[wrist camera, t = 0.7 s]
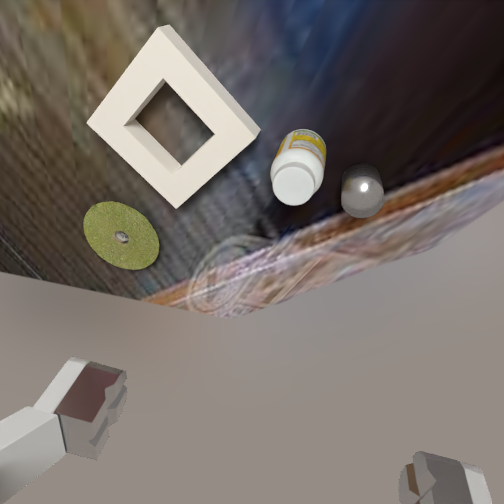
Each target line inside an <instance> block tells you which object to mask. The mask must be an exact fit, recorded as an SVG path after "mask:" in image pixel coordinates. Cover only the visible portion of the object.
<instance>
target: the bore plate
mask: <svg viewBox="0 0 504 504" xmlns="http://www.w3.org/2000/svg"><path fill="white" fill-rule="evenodd" d="M165 82H167V83H168V84H169V85H170V86H171V87H172V88H173V89H174V90H175V91H176V93H177V94H178V95H179V96H180V97H181V98H182V99H183V100H184V101H185V102H186V103H187V104H188V106H189V107H190V108H191V109H192V110H193V111H194V112H195V113H196V114H197V115H198V116H199V117H200V119H201V120H202V121H203V122H204V123H205V124H206V125H207V126H208V127H209V128H210V129H211V130H212V132H213V133H214V135H213V136H212V137H211V138H210V139H209V140H208V141H207V142H205V143H204V144H203V145H202V146H201V147H200V148H199V149H198V150H197V151H196V152H195V153H194V154H193V155H192V156H191V157H190V158H189V159H188V160H187V161H186V162H185V163H184V164H183V165H182V166H181V165H180V164H179V163H178V162H177V161H176V160H175V159H174V158H173V157H172V156H171V155H170V154H169V153H168V152H167V151H166V150H165V149H164V148H163V147H162V146H161V145H160V144H159V143H158V142H157V141H156V140H155V139H154V138H153V137H152V136H151V135H150V134H149V133H148V132H147V131H146V130H145V129H144V128H143V127H142V125H141V124H140V123H139V122H138V121H137V120H136V119H135V118H136V117H137V116H138V114H139V113H140V112H141V111H142V110H143V108H144V107H145V106H146V105H147V104H148V103H149V101H150V100H151V99H152V98H153V97H154V95H155V94H156V93H157V92H158V91H159V89H160V88H161V87H162V86H163V85H164V83H165ZM87 124H88V125H89V126H90V127H91V128H92V129H93V130H94V131H95V132H96V133H97V134H99V135H100V136H101V137H102V138H103V139H104V140H105V141H106V142H107V143H108V144H109V145H110V146H111V147H112V148H113V149H114V150H115V151H116V152H117V153H118V154H119V155H120V156H121V157H122V158H124V159H125V160H126V161H127V162H128V163H129V164H130V165H131V166H132V167H133V168H134V169H135V170H136V171H137V172H138V173H139V174H140V175H141V176H142V177H143V178H144V179H145V180H146V181H148V182H149V183H150V184H151V185H152V186H153V187H154V188H155V189H156V190H157V191H158V192H159V193H160V194H161V195H162V196H163V197H164V198H165V199H166V200H167V201H168V202H169V203H170V204H172V205H173V206H174V207H175V208H176V209H177V208H178V207H179V206H180V205H181V204H182V203H184V202H185V201H186V200H187V199H188V198H189V197H190V196H191V195H192V194H194V193H195V192H196V191H197V190H198V189H199V188H200V187H201V186H203V185H204V184H205V183H206V182H207V181H208V180H209V179H210V178H212V177H213V176H214V175H215V174H216V173H217V172H218V171H219V170H221V169H222V168H223V167H224V166H225V165H226V164H227V163H228V162H229V161H231V160H232V159H233V158H234V157H235V156H236V155H237V154H238V153H240V152H241V151H242V150H243V149H244V148H245V147H246V146H247V145H249V144H250V143H251V142H252V141H253V140H254V139H255V138H256V137H257V135H258V133H259V132H260V130H261V129H260V128H259V127H258V126H257V125H256V123H255V122H254V121H253V120H252V119H251V118H250V117H249V115H248V114H247V113H246V112H245V111H244V110H243V109H242V107H241V106H240V105H239V104H238V103H237V102H236V100H235V99H234V98H233V97H232V96H231V95H230V94H229V92H228V91H227V90H226V89H225V88H224V87H223V86H222V84H221V83H220V82H219V81H218V80H217V79H216V78H215V76H214V75H213V74H212V73H211V72H210V71H209V70H208V68H207V67H206V66H205V65H204V64H203V63H202V62H201V60H200V59H199V58H198V57H197V56H196V55H195V53H194V52H193V51H192V50H191V49H190V48H189V47H188V45H187V44H186V43H185V42H184V41H183V40H182V39H181V37H180V36H179V35H178V34H177V33H176V32H175V31H174V29H173V28H172V27H171V26H170V25H166V26H161V27H158V28H157V29H156V31H155V32H154V33H153V35H152V36H151V37H150V39H149V40H148V41H147V43H146V44H145V45H144V47H143V48H142V49H141V51H140V52H139V53H138V55H137V56H136V57H135V59H134V60H133V61H132V63H131V64H130V65H129V67H128V68H127V69H126V71H125V72H124V73H123V75H122V76H121V77H120V79H119V80H118V81H117V83H116V84H115V85H114V87H113V88H112V89H111V91H110V92H109V93H108V95H107V96H106V97H105V99H104V100H103V101H102V103H101V104H100V105H99V107H98V108H97V109H96V111H95V112H94V113H93V115H92V116H91V117H90V119H89V120H88V121H87Z"/></svg>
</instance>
